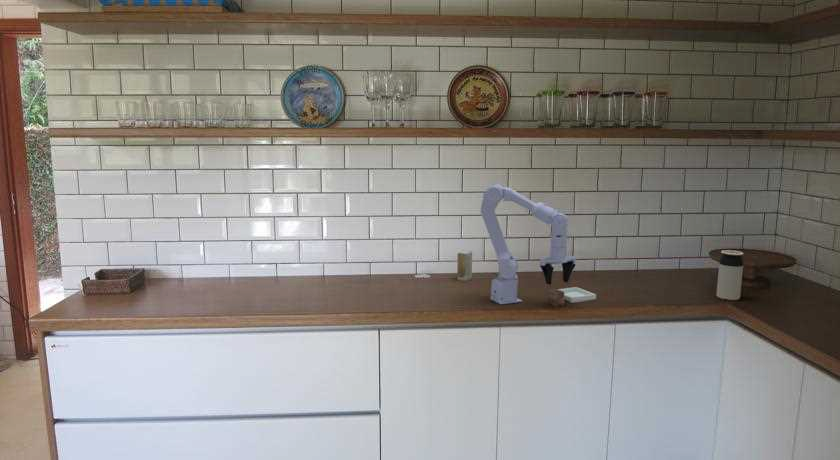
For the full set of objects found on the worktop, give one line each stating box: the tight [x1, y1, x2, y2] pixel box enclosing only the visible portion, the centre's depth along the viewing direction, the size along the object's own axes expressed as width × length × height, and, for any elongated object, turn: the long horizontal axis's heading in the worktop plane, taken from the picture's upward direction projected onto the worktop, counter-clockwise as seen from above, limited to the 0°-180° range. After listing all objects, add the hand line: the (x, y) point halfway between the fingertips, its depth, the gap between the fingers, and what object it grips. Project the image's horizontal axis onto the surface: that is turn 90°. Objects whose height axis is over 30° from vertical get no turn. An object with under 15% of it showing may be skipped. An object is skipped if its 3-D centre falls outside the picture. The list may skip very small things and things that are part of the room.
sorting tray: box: [556, 286, 597, 304], centre depth 213 cm, size 12×12×2 cm
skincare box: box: [456, 250, 473, 282], centre depth 239 cm, size 6×4×12 cm
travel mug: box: [716, 249, 745, 301], centre depth 212 cm, size 8×8×18 cm
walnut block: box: [547, 289, 565, 307], centre depth 203 cm, size 4×4×5 cm
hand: (557, 283), depth 203 cm, fingers open, 7 cm apart
